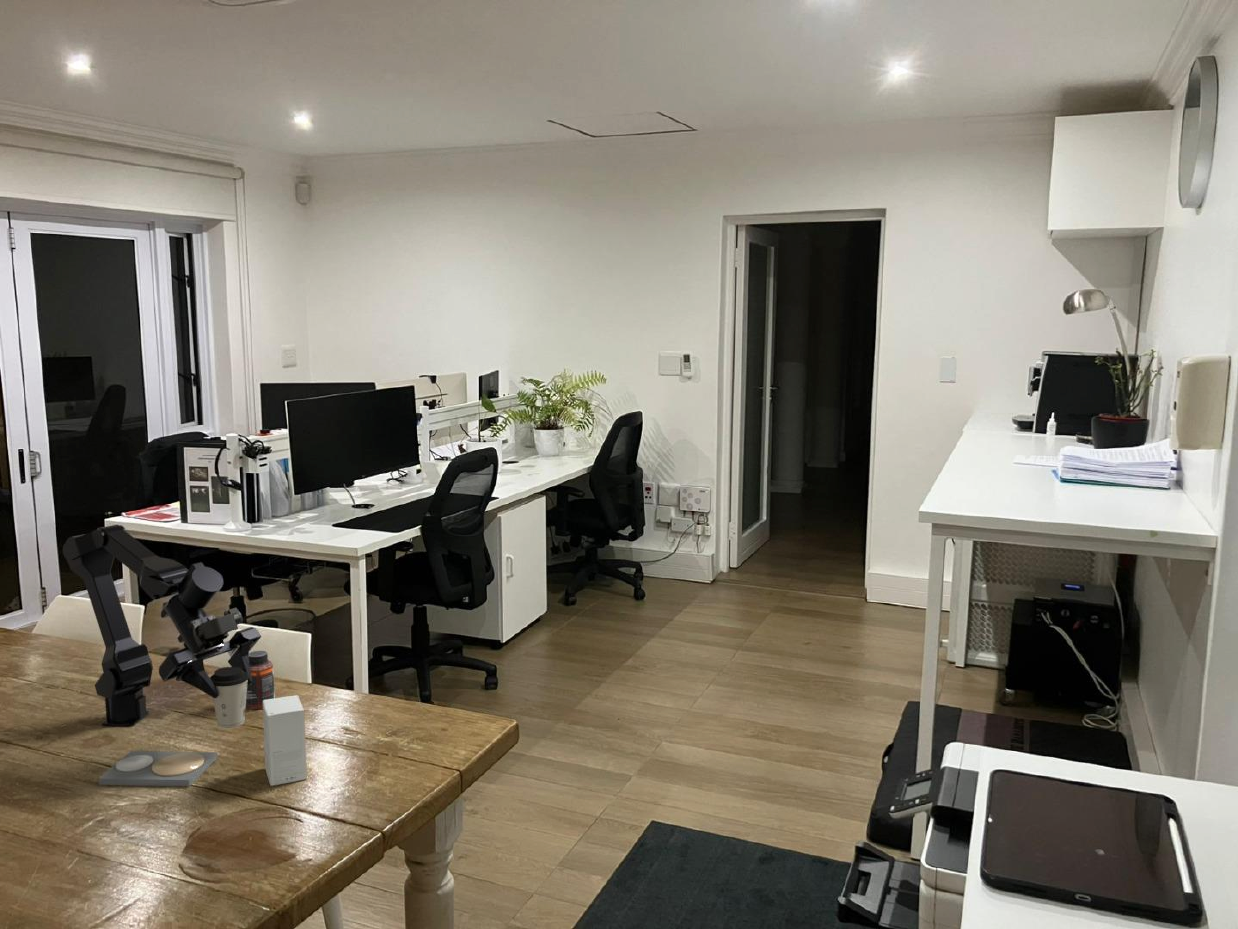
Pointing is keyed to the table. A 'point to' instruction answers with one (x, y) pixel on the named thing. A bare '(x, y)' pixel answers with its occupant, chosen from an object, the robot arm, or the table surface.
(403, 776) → the table surface
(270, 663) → the supplement bottle
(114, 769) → the slate board
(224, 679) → the coffee cup
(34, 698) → the table surface
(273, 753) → the small box
